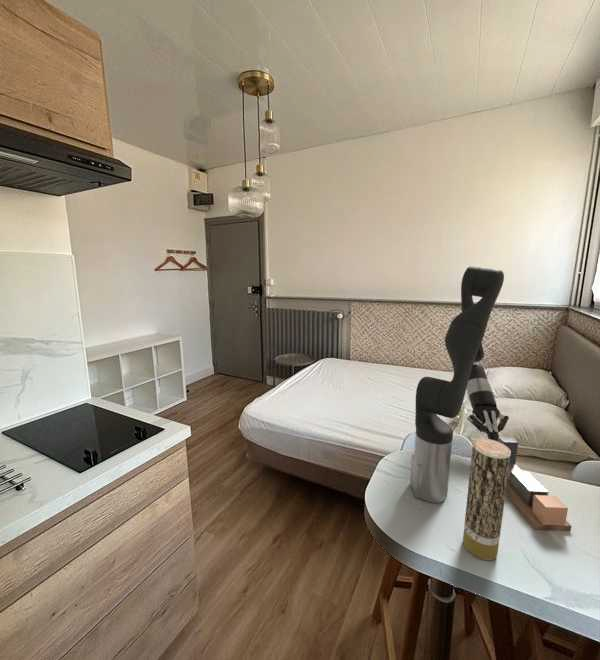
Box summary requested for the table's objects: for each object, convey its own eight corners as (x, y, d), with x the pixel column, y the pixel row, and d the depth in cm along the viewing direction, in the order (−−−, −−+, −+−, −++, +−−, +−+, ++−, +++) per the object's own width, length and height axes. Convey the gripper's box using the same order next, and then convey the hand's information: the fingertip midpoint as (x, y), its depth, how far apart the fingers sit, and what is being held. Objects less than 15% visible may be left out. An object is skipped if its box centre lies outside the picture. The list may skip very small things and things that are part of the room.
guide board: (535, 529, 74) (536, 524, 74) (490, 475, 94) (491, 471, 94) (570, 531, 74) (571, 525, 74) (518, 476, 94) (518, 472, 93)
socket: (543, 524, 74) (545, 507, 73) (531, 511, 78) (534, 495, 77) (565, 525, 74) (568, 508, 73) (552, 512, 78) (555, 495, 77)
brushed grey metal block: (530, 506, 79) (535, 471, 77) (494, 466, 96) (498, 436, 94) (546, 506, 79) (552, 471, 77) (508, 466, 95) (512, 437, 93)
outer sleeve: (527, 506, 80) (529, 491, 79) (508, 485, 88) (510, 471, 87) (546, 506, 80) (548, 491, 79) (525, 485, 87) (527, 471, 87)
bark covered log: (487, 536, 73) (499, 439, 68) (503, 563, 66) (518, 457, 61) (457, 534, 73) (467, 437, 69) (470, 560, 67) (482, 455, 62)
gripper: (465, 389, 105) (479, 441, 96) (505, 390, 104) (524, 442, 95) (456, 397, 112) (469, 447, 102) (494, 398, 111) (511, 448, 101)
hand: (496, 445), depth 98 cm, fingers closed
